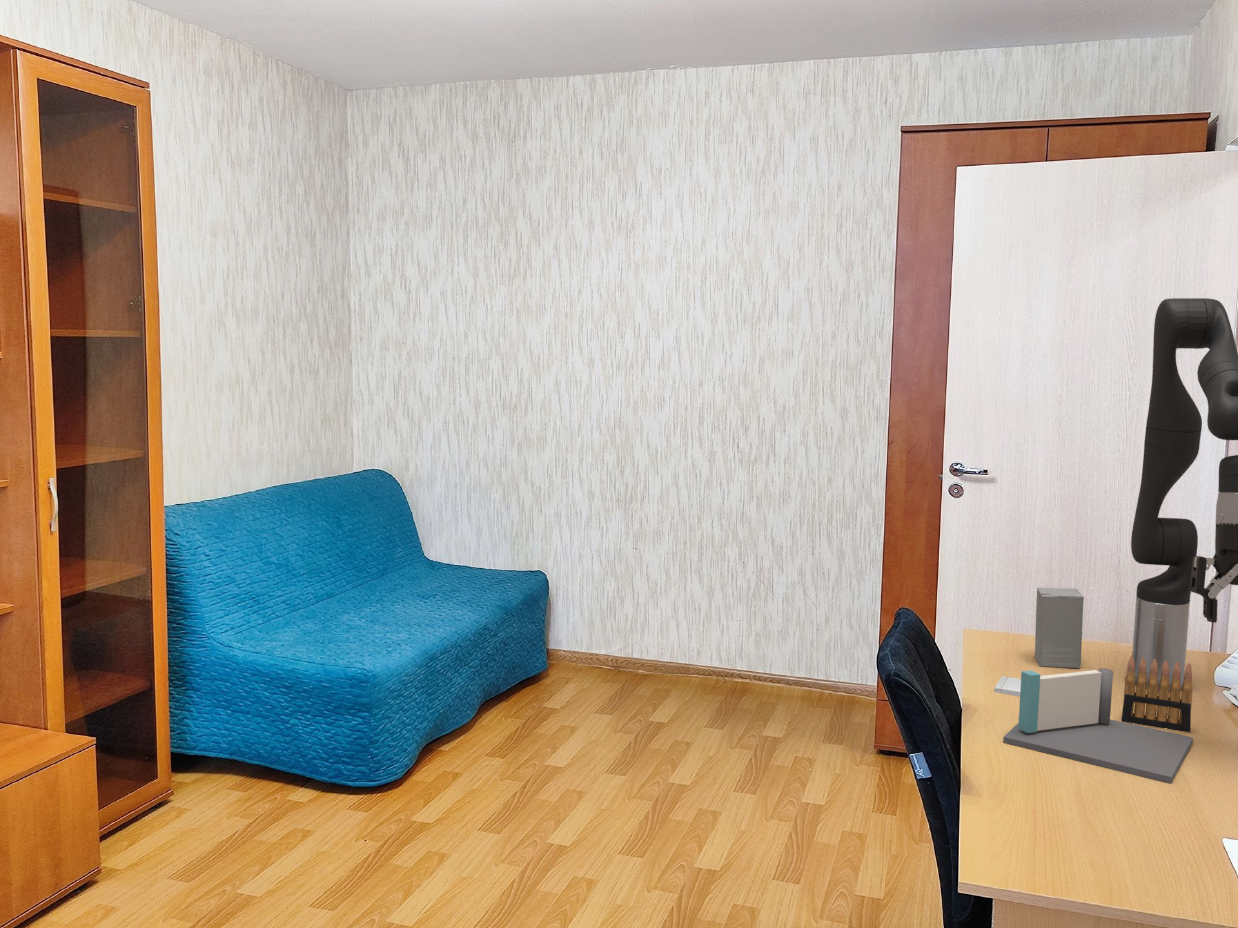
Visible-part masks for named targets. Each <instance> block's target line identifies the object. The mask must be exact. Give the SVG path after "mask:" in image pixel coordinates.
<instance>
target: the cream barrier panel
mask: <svg viewBox="0 0 1238 928" xmlns="http://www.w3.org/2000/svg"><path fill="white" fill-rule="evenodd" d="M1020 672H1021V674H1020V677H1021V678H1020V679H1021V689H1020V697H1019V711H1018V722H1019V724H1018V728H1019V729H1021V730H1022V731H1024V732H1026V733H1031V732H1037V731H1039V730H1047V729H1055V728H1062V727H1070V726H1078V725H1086V724H1094V723H1098V722H1100V723H1109V722H1110V719H1111V713H1112V712H1111V708H1112V693H1113V680H1114V671H1113V670H1111V669H1109V668H1104V667H1103V668H1101V667H1100V668H1097V670H1096V669H1094V670H1083V671H1074V672H1066V673H1057V674H1055V673H1054V674H1047V675H1041V674H1040V673H1038V672H1036V671H1034V670H1022V671H1020Z"/></svg>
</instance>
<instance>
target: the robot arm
mask: <svg viewBox="0 0 1238 928" xmlns="http://www.w3.org/2000/svg"><path fill="white" fill-rule="evenodd" d="M1152 342H1153V347H1152V373H1151V374H1152V376H1151V387H1150V396H1149V403H1148V412H1147V418H1146V424H1145V433H1144V434H1145V435H1144V440H1143V441H1144V443H1143V444H1144V445H1143V456H1142V457H1143V460H1142V469H1141V470H1142V471H1141V479H1140V487H1139V492H1138V496H1137V497H1138V498H1137V503H1136V508H1135V513H1134V519H1133V523H1132V529H1131V539H1130V548H1131V555H1132V558H1133V560H1134V561H1135V562H1137V563H1138V564H1140V565H1149V566H1150V565H1151V566H1152V565H1153V566H1168V568H1167V569H1166V570H1165V571H1164V572H1162V573H1160V574H1158V575H1156V576H1153V577H1150V578H1147V579H1143V580H1141V581H1139V582H1138V584H1137V586H1136V595H1135V609H1134V610H1135V612H1134V624H1133V626H1134V627H1133V636H1132V637H1133V639H1132V653H1131V656H1133V658H1134V662H1135V686H1136V681H1137V677H1138V672H1139V665H1140V661H1141V659H1142V658H1143V657H1144V658H1145V661H1146V680H1147V687H1148V680H1149V675H1150V668H1151V664H1152V662H1153V660H1154V659H1156V661H1157V666H1158V691H1159V683H1160V679H1161V672H1162V667H1163V664H1164V662H1165V660H1167V662H1168V665H1169V684H1170V685H1171V682H1172V677H1173V670H1174V666H1175V664H1176V662H1179V665H1180V671H1181V676H1180V678H1181V680H1180V683H1181V691H1182V685H1183V681H1184V674H1185V669H1186V657H1187V643H1188V629H1189V617H1190V616H1189V615H1190V603H1191V594H1192V593H1193V594H1196V595H1199V596H1201V597H1202V599H1203V602H1202V603H1203V605H1202V606H1203V607H1202V609H1203V610H1202V615H1203V617H1204V618H1205V619H1206V621H1207V622H1208V623H1217V622H1218V599H1216V598H1217V596H1218V595H1219V594H1220V593H1221V591H1222V590H1224V589H1226V588H1227V587H1228V586H1229V585H1232V586H1238V454H1233V455H1229V456H1225V457H1223V458H1221V459H1220V461H1219V465H1218V487H1217V488H1218V489H1217V492H1218V493H1217V500H1216V505H1215V531H1214V532H1215V535H1214V536H1215V539H1214V541H1215V542H1214V548H1215V549H1214V550H1215V551H1214V552H1215V553H1214V555H1213V557H1205V556H1201V555H1197V554H1198V546H1199V545H1198V544H1199V541H1198V540H1199V535H1198V530H1197V527H1196V525H1195V523H1194V522H1193V521H1192V520H1190V519H1189V518H1177V517H1159V515H1160V511H1161V508H1162V505H1163V503H1164V500H1165V499H1166V496H1167V495H1168V493H1169V492H1170V491H1171V489H1172V488H1173V486H1175V484H1176V483H1177V482H1178V481H1179V480H1180V479H1181V478H1182V477H1183V476H1184V474H1185V473H1186V472H1187V471H1188V470H1189V469H1190V467H1191V466H1192V465H1193V463H1194V462H1195V460H1196V459H1197V457H1198V455H1199V452H1200V444H1201V435H1202V428H1203V427H1202V426H1203V419H1202V416H1201V412H1200V410H1199V408H1198V406H1197V405H1196V403H1195V401H1194V400H1193V397H1192V396H1191V395H1190V393H1189V392H1188V390H1187V388H1186V387H1185V385H1184V383H1183V381H1182V379H1181V378H1182V377H1181V376H1180V373H1179V370H1178V364H1177V349H1197V350H1198V349H1199V350H1201V349H1209V350H1208V351H1207V352H1206V353H1205V355H1204V356H1203V357H1202V359H1201V360H1200V362H1199V365H1198V367H1197V373H1196V374H1197V380H1198V383H1199V386H1200V388H1201V390H1202V392H1203V395H1204V396H1205V398H1206V401H1207V409H1208V411H1207V422H1206V423H1207V425H1206V426H1207V429H1208V431H1209V433H1211V434H1212V435H1213V436H1214V437H1216V438H1217V439H1219V440H1223V441H1238V349H1237V344H1236V341H1235V337H1234V332H1233V329H1232V325H1231V322H1230V318H1229V315H1228V312H1227V310H1226V307H1224V304H1223V303H1221V302H1220V301H1219V300H1217V299H1215V298H1204V297H1203V298H1201V297H1199V298H1198V297H1196V298H1194V297H1193V298H1192V297H1191V298H1189V297H1188V298H1187V297H1186V298H1185V297H1184V298H1183V297H1182V298H1181V297H1179V298H1177V297H1175V298H1171V297H1170V298H1165V299H1164V300H1162V301H1161V302H1160V303H1159V304H1158V306H1157V310H1156V312H1155V318H1154V324H1153V341H1152ZM1211 566H1212V567H1213V568H1214V569H1215V571H1216V572H1217V573H1216V574H1215V575H1214V576H1213V577H1212V578H1211V579H1210V580H1209V583H1208V585H1206V573H1207V572H1206V571H1208V570H1209V569H1210V567H1211ZM1205 585H1206V587H1205ZM1147 687H1146V689H1147ZM1169 693H1170V688H1169Z"/></svg>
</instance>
